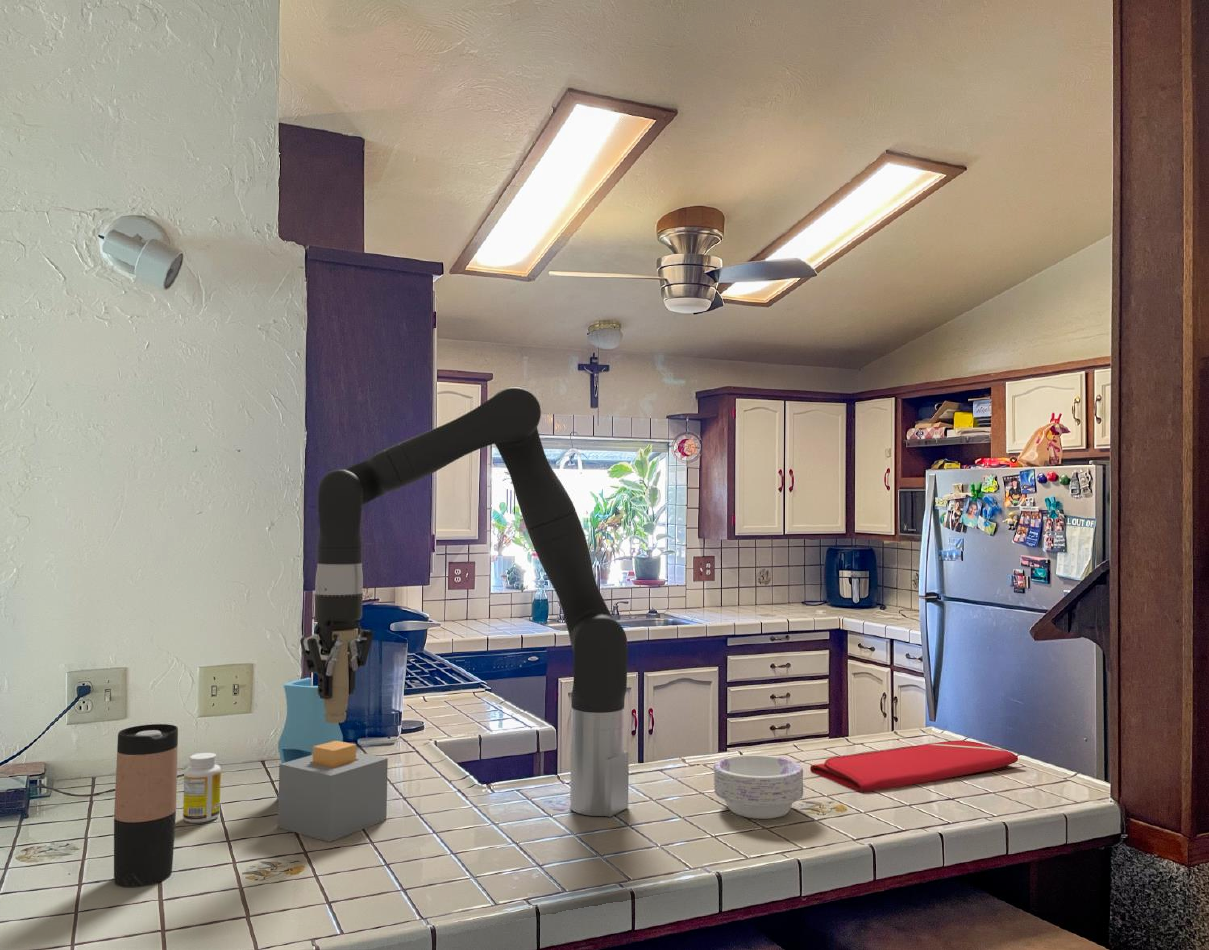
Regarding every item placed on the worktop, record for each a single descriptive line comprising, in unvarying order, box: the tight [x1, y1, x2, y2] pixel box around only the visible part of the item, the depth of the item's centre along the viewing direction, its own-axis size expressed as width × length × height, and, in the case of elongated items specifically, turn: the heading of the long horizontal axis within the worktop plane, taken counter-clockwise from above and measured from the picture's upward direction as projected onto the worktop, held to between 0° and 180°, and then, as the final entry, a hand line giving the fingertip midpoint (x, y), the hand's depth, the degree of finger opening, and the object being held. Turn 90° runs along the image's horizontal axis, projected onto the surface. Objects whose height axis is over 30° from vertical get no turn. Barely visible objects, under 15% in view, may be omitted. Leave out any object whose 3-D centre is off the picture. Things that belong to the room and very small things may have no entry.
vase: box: [276, 677, 344, 800], centre depth 160 cm, size 8×8×20 cm
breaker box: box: [277, 751, 389, 842], centre depth 145 cm, size 12×12×10 cm
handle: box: [324, 628, 358, 724], centre depth 146 cm, size 5×6×15 cm
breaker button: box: [313, 741, 357, 768], centre depth 145 cm, size 5×5×4 cm
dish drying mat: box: [809, 740, 1019, 793], centre depth 179 cm, size 16×41×4 cm, turn 115°
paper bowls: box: [713, 754, 804, 820], centre depth 153 cm, size 15×15×8 cm
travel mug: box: [113, 723, 179, 888], centre depth 123 cm, size 8×8×20 cm
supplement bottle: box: [182, 752, 222, 824], centre depth 147 cm, size 6×6×10 cm
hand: (336, 695), depth 146 cm, fingers closed on handle, 4 cm apart
